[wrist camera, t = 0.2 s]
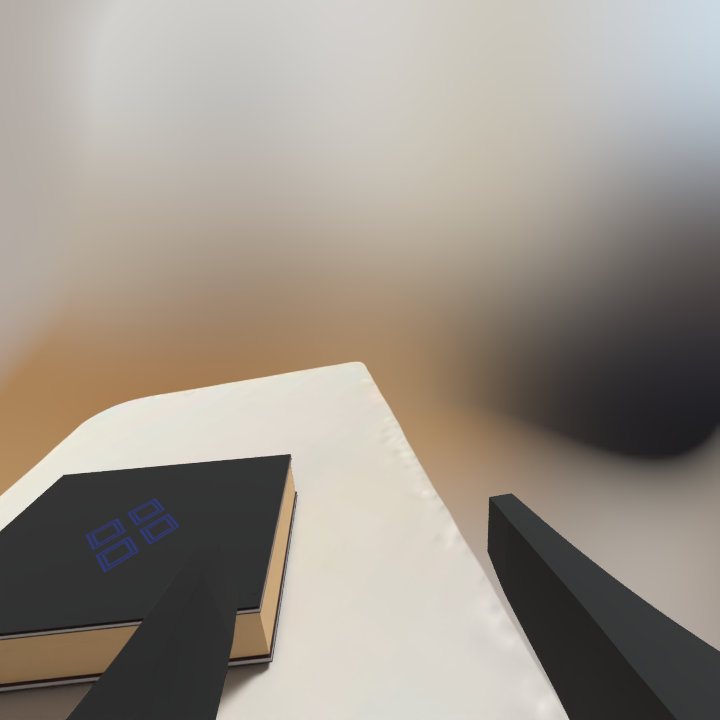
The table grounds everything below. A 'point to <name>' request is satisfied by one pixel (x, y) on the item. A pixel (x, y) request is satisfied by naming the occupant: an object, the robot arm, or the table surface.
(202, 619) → the robot arm
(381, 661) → the table surface
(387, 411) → the table surface
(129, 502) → the book
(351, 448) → the table surface
